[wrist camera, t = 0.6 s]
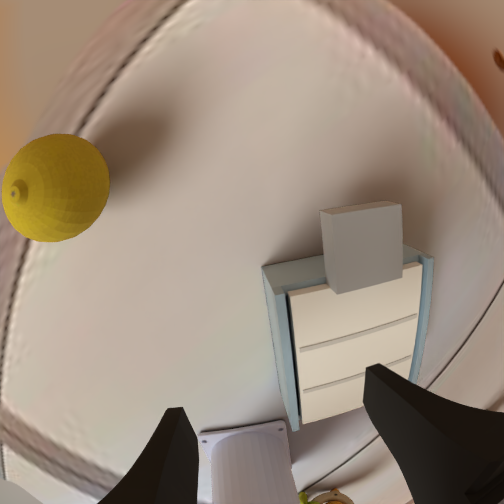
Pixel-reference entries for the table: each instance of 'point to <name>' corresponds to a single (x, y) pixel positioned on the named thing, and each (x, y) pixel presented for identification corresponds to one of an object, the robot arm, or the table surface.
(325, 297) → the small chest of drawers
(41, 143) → the lemon
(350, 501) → the bird rattle
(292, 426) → the tub
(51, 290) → the table surface
